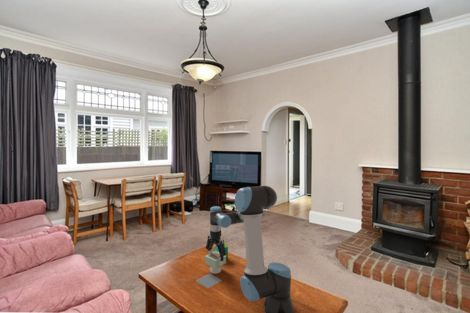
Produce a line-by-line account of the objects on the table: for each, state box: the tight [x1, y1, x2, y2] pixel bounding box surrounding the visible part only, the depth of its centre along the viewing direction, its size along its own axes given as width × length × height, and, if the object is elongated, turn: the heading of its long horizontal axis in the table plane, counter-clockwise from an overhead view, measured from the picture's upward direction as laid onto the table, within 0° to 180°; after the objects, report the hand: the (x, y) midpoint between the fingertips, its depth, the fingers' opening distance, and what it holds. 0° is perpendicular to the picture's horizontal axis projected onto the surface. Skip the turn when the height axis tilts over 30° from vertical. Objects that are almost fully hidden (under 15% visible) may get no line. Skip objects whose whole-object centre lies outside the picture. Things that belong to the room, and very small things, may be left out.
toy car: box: [206, 243, 229, 260], centre depth 184 cm, size 10×13×10 cm
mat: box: [194, 272, 223, 289], centre depth 156 cm, size 12×12×1 cm
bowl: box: [209, 265, 222, 275], centre depth 168 cm, size 8×8×4 cm
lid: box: [204, 252, 227, 268], centre depth 168 cm, size 10×10×5 cm
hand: (215, 262), depth 168 cm, fingers closed on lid, 10 cm apart
